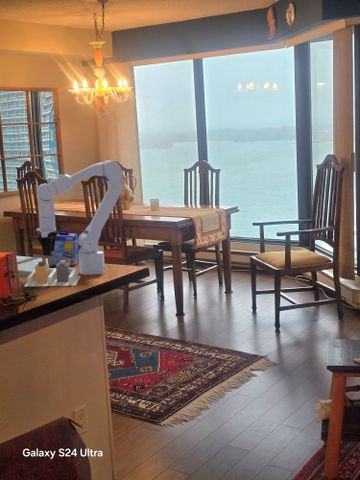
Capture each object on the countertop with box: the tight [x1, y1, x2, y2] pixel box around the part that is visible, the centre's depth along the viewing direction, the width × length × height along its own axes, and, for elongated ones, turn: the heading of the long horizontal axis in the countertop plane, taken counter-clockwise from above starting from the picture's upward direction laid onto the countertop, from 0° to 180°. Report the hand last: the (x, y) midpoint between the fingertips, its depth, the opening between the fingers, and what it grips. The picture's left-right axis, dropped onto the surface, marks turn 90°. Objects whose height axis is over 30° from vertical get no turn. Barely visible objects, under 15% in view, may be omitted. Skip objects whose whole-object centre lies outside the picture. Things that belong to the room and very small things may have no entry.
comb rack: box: [23, 267, 82, 287], centre depth 228 cm, size 18×14×4 cm
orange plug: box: [34, 261, 50, 283], centre depth 227 cm, size 4×4×7 cm
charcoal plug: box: [55, 260, 70, 282], centre depth 228 cm, size 4×4×7 cm
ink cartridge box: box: [51, 229, 79, 266], centre depth 259 cm, size 10×6×14 cm, turn 87°
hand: (49, 253), depth 235 cm, fingers open, 7 cm apart
